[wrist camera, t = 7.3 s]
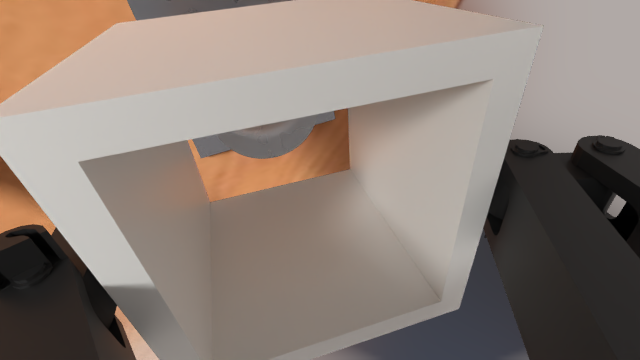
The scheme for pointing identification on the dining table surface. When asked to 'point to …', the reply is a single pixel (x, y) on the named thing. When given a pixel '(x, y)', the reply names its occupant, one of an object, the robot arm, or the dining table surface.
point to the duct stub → (251, 141)
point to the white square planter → (286, 200)
